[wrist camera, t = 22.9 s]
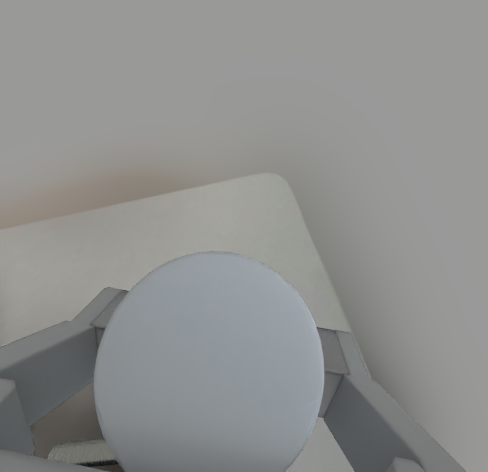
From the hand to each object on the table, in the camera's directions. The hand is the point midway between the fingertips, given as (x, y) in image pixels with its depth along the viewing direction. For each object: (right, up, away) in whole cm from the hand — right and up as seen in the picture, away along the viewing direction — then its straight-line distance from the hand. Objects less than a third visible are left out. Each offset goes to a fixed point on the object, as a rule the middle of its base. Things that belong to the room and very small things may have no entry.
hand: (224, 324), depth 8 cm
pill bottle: (0, -2, +4) cm, 5 cm away
